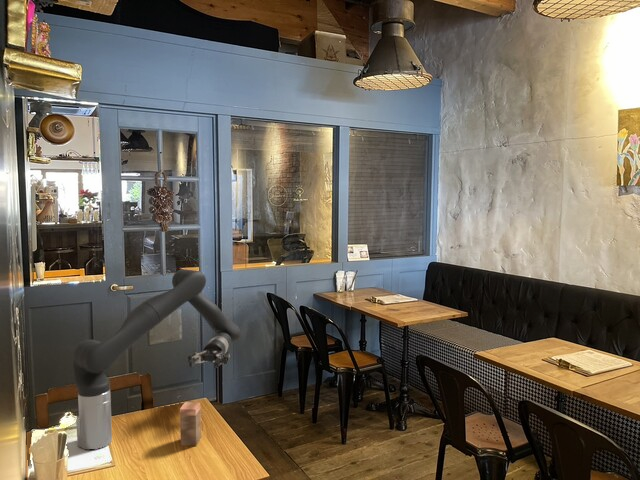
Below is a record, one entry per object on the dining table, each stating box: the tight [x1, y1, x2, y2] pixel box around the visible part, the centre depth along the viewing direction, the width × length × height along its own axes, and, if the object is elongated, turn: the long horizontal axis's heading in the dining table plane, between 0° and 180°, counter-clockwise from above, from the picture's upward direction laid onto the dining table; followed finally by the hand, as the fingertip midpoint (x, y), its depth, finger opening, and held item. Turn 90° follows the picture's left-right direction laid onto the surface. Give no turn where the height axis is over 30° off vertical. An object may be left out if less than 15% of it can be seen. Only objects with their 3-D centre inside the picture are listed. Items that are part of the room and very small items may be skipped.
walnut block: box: [179, 401, 202, 447], centre depth 155 cm, size 5×5×12 cm
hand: (202, 365), depth 167 cm, fingers open, 8 cm apart
